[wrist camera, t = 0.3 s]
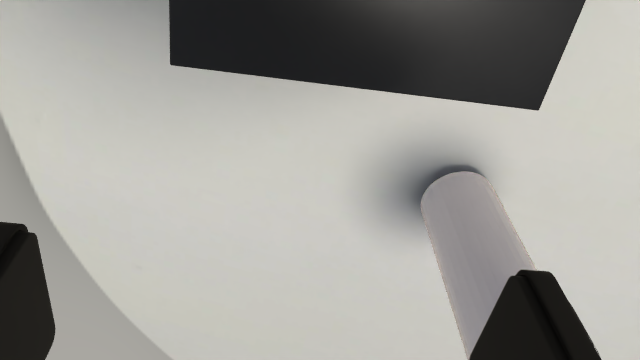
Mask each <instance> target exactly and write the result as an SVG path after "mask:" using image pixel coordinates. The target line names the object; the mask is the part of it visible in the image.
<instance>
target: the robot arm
mask: <svg viewBox="0 0 640 360" xmlns="http://www.w3.org/2000/svg"><path fill="white" fill-rule="evenodd" d="M54 335H55V323H54V318H53V313H52V308H51V303H50V298H49V294H48V289H47V284H46V279H45V274H44V269H43V264H42V259H41V254H40V249H39V245H38V240H37V236H36V235H35V233H30V232H28V230H27V227H26V226H25V225H24V224H17V223H6V222H0V360H45V359H46V357H47V354H48V352H49V350H50V348H51V346H52V343H53V340H54ZM469 360H601V359H600V357H599V355H598V353H597V351H596V350H595V348H594V346H593V344H592V343H591V341H590V339H589V337H588V335H587V334H586V332H585V330H584V328H583V327H582V325H581V323H580V321H579V319H578V318H577V316H576V314H575V312H574V311H573V309H572V307H571V305H570V303H569V302H568V300H567V298H566V296H565V295H564V293H563V291H562V289H561V287H560V286H559V284H558V282H557V280H556V278H555V277H554V276H553V274H552V273H550V272H546V271H535V270H520V271H518V272H517V274H516V275H515V276H510V277H509V279H508V280H507V282H506V284H505V286H504V288H503V290H502V292H501V294H500V296H499V298H498V300H497V302H496V304H495V306H494V308H493V310H492V312H491V314H490V316H489V318H488V320H487V323H486V325H485V327H484V329H483V331H482V333H481V335H480V337H479V339H478V341H477V343H476V345H475V347H474V349H473V351H472V353H471V355H470V358H469Z"/></svg>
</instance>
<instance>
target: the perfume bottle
mask: <svg viewBox="0 0 640 360" xmlns="http://www.w3.org/2000/svg"><path fill="white" fill-rule="evenodd" d="M421 212H422V216H423V219H424V222H425V225H426V228H427V232H428V235H429V238H430V241H431V244H432V248H433V251H434V254H435V257H436V260H437V263H438V267H439V270H440V273H441V276H442V279H443V283H444V286H445V289H446V292H447V295H448V298H449V302H450V305H451V308H452V311H453V314H454V318H455V321H456V324H457V327H458V330H459V333H460V337H461V340H462V343H463V346H464V349H465V353H466V356H467V359H468V360H469V358H470V355H471V353H472V351H473V349H474V347H475V345H476V343H477V341H478V339H479V337H480V335H481V333H482V331H483V329H484V327H485V325H486V323H487V320H488V318H489V316H490V314H491V312H492V310H493V308H494V306H495V304H496V302H497V300H498V298H499V296H500V294H501V292H502V290H503V288H504V286H505V284H506V282H507V280H508V279H509V277H510V276H515V275H516V274H517V272H518V271H520V270H535V271H537V269H536V267H535V265H534V264H533V262H532V260H531V258H530V256H529V254H528V252H527V250H526V249H525V247H524V245H523V243H522V241H521V239H520V237H519V235H518V233H517V232H516V230H515V228H514V226H513V224H512V222H511V220H510V218H509V217H508V215H507V213H506V211H505V209H504V207H503V205H502V203H501V201H500V200H499V198H498V196H497V194H496V192H495V190H494V188H493V186H492V185H491V183H490V182H489V181H488V180H487V179H486V178H485V177H483V176H481V175H480V174H477V173H473V172H466V171H462V172H454V173H450V174H447V175H445V176H442V177H441V178H439V179H437V180H436V181H434V182H433V183H432V184H431V185H430V186H429V187H428V188H427V189H426V191H425V193H424V194H423V197H422V200H421ZM568 302H569V301H568ZM570 305H571V304H570ZM571 306H572V305H571ZM572 309H573V307H572ZM573 311H574V312H575V310H574V309H573ZM575 314H576V312H575ZM576 316H577V314H576ZM577 318H578V319H579V317H578V316H577ZM579 321H580V319H579ZM580 323H581V321H580ZM581 325H582V327H583V328H584V326H583V324H582V323H581ZM584 330H585V328H584ZM585 332H586V330H585ZM586 334H587V335H588V333H587V332H586ZM588 337H589V335H588ZM589 338H590V337H589ZM590 340H591V339H590ZM591 343H592V344H593V342H592V340H591ZM593 346H594V344H593ZM596 350H597V349H596ZM597 352H598V351H597ZM598 354H599V353H598ZM599 357H600V356H599ZM600 359H601V358H600Z"/></svg>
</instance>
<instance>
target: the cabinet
mask: <svg viewBox="0 0 640 360" xmlns="http://www.w3.org/2000/svg"><path fill="white" fill-rule="evenodd" d="M585 1H586V0H169V19H170V64H171V65H175V66H183V67H191V68H199V69H207V70H215V71H223V72H231V73H239V74H247V75H256V76H264V77H272V78H280V79H288V80H296V81H304V82H312V83H320V84H328V85H337V86H345V87H353V88H361V89H369V90H377V91H385V92H393V93H401V94H409V95H418V96H426V97H434V98H442V99H450V100H458V101H466V102H474V103H482V104H490V105H498V106H507V107H515V108H523V109H531V110H539V108H540V106H541V104H542V101H543V99H544V97H545V94H546V92H547V90H548V87H549V85H550V83H551V80H552V78H553V76H554V73H555V71H556V69H557V66H558V64H559V62H560V59H561V57H562V54H563V52H564V50H565V47H566V45H567V43H568V40H569V38H570V36H571V33H572V31H573V29H574V26H575V24H576V22H577V19H578V17H579V15H580V12H581V10H582V8H583V5H584V3H585Z"/></svg>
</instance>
